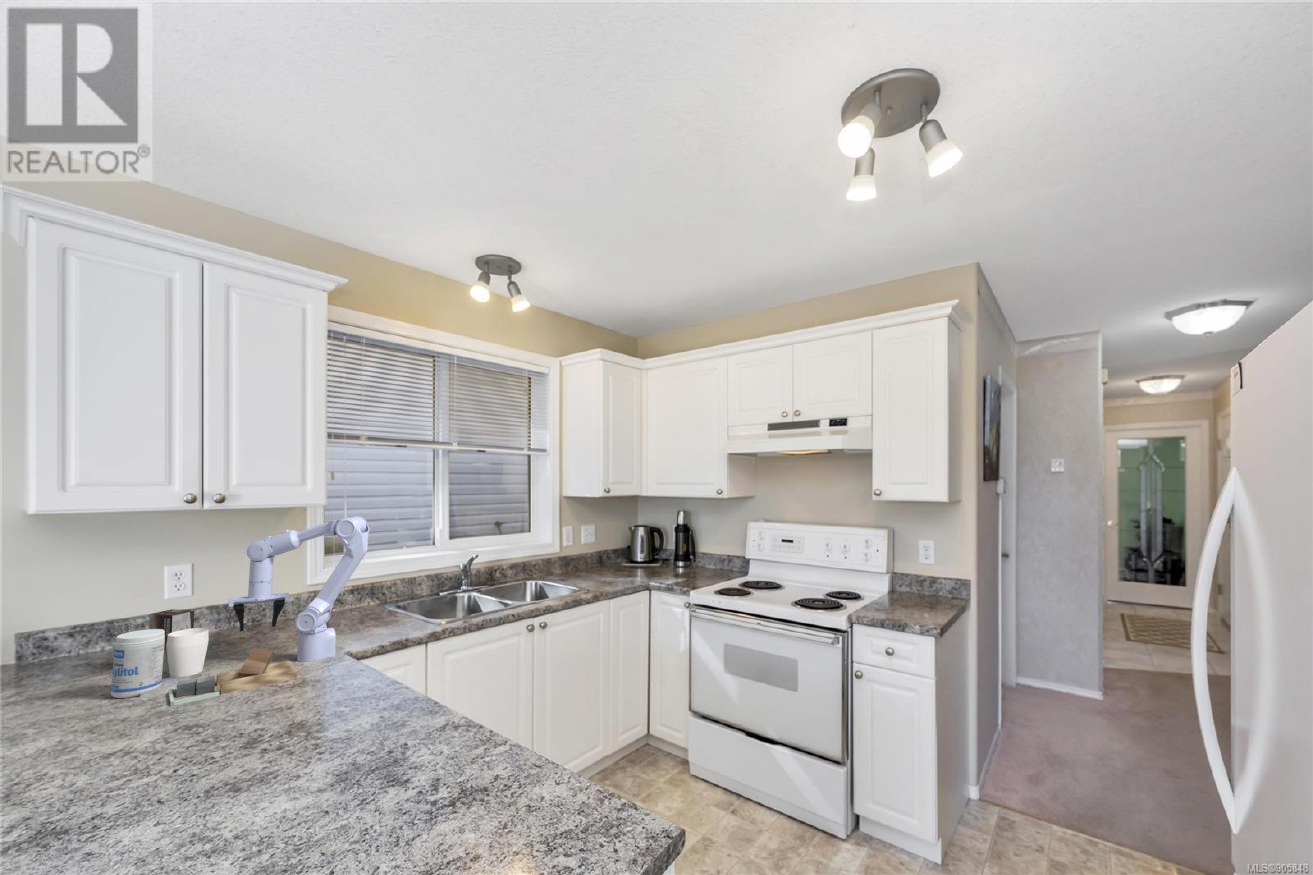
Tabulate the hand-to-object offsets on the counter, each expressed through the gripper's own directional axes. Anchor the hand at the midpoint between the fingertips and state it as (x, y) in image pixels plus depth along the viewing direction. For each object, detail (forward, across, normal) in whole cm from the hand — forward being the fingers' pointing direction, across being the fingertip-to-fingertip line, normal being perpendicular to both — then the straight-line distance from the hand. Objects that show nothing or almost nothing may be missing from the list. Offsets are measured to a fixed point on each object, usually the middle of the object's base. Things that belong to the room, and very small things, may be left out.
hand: (257, 628), depth 165 cm
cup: (+11, -16, +1) cm, 19 cm away
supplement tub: (+11, -25, -6) cm, 28 cm away
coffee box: (+11, -19, +12) cm, 25 cm away
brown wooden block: (+8, -3, -22) cm, 23 cm away
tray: (+10, -14, -21) cm, 28 cm away
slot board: (+10, -1, -20) cm, 23 cm away
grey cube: (+10, -12, -21) cm, 26 cm away
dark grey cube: (+10, -15, -20) cm, 27 cm away
